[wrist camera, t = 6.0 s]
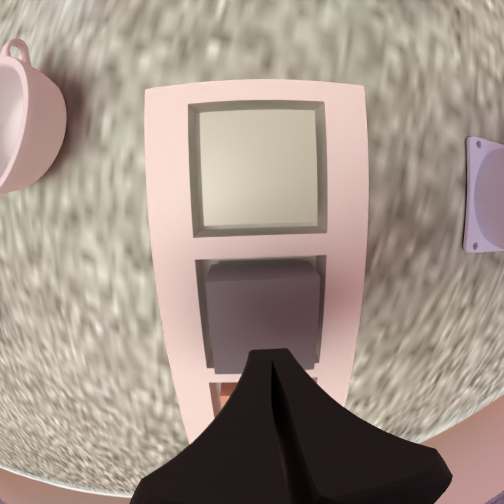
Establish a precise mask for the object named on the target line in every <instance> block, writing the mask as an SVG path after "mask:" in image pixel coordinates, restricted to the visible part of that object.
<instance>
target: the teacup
mask: <svg viewBox="0 0 504 504" xmlns="http://www.w3.org/2000/svg"><path fill="white" fill-rule="evenodd" d="M11 46H15V47H17V48H18V49H19V50H20V52H21V56H22V61H21V60H19V59H17V58H14V57H11V54H10V47H11ZM66 121H67V115H66V106H65V101H64V98H63V95H62V93H61V91H60V89H59V88H58V86H57V85H56V84H55V83H53V82H52V81H51V80H50V79H49V78H48V77H47V76H45V75H44V74H43V73H41V72H40V71H38V70H37V69H35V68H34V67H32V66H31V62H30V56H29V51H28V47H27V45H26V43H25V42H24V41H23V40H21V39H17V38H16V39H12V40H10V41H8V42H7V43H6V44H5V45H4V47H3V48H2V51H1V54H0V195H2V194H5V193H8V192H12V191H15V190H19V189H22V188H25V187H27V186H29V185H31V184H33V183H34V182H36V181H37V180H38V179H39V178H40V177H41V176H42V175H43V174H44V173H45V172H46V171H47V170H48V169H49V167H50V166H51V165H52V163H53V162H54V160H55V158H56V156H57V155H58V153H59V150H60V148H61V145H62V143H63V139H64V135H65V131H66Z"/></svg>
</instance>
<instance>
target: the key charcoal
mask: <svg viewBox="0 0 504 504" xmlns="http://www.w3.org/2000/svg"><path fill="white" fill-rule="evenodd" d="M320 278H321V277H320V276H319V274H318V273H317V272H316V270H315V269H314V268H313V266H312V265H311V263H310V262H309V261H290V262H264V263H237V264H212V265H211V267H210V270H209V273H208V276H207V278H206V281H205V284H206V295H207V306H208V316H209V326H210V336H211V345H212V354H213V362H214V370H215V374H242V373H243V370H244V368H245V365H246V362H247V359H248V353H249V352H250V351H251V350H258V349H278V348H287V349H289V350H290V352H291V353H292V354H293V356H294V357H295V359H296V360H297V361H298V363H299V364H300V365H301V366H302V367H303V369H304V370H313V369H314V365H315V354H316V343H317V330H318V315H319V298H320Z"/></svg>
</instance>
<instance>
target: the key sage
mask: <svg viewBox="0 0 504 504" xmlns="http://www.w3.org/2000/svg"><path fill="white" fill-rule="evenodd" d="M200 146H201V175H202V197H203V216H204V226H210V225H235V224H264V223H301V222H317V152H316V126H315V111H299V110H246V111H223V112H207V113H200Z"/></svg>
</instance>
